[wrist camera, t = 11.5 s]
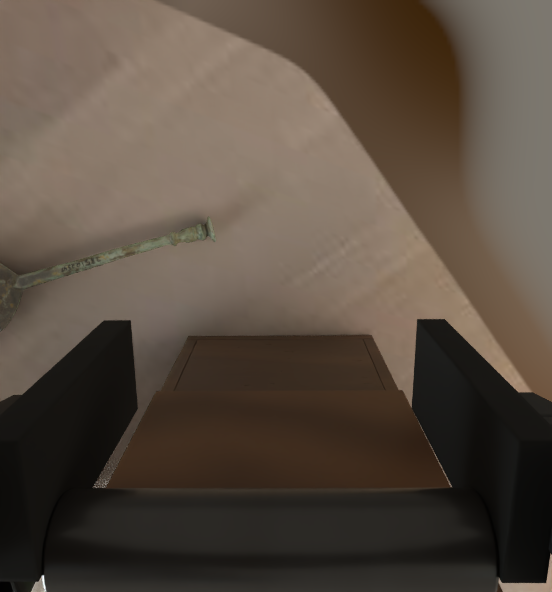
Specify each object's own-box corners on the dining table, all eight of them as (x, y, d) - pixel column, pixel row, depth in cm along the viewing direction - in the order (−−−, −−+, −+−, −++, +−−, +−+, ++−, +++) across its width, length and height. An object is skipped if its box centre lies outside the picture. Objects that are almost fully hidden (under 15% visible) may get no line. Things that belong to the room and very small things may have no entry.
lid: (656, 943, 9) (751, 612, 7) (-105, 934, 10) (-209, 609, 8) (401, 403, 29) (409, 274, 27) (156, 403, 29) (147, 276, 27)
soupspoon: (-82, 260, 39) (-43, 340, 41) (-117, 272, 35) (-73, 359, 37) (203, 181, 36) (230, 271, 38) (194, 187, 33) (224, 285, 35)
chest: (363, 557, 44) (385, 667, 35) (200, 557, 44) (178, 666, 35) (371, 334, 39) (400, 392, 29) (188, 336, 39) (158, 393, 30)
